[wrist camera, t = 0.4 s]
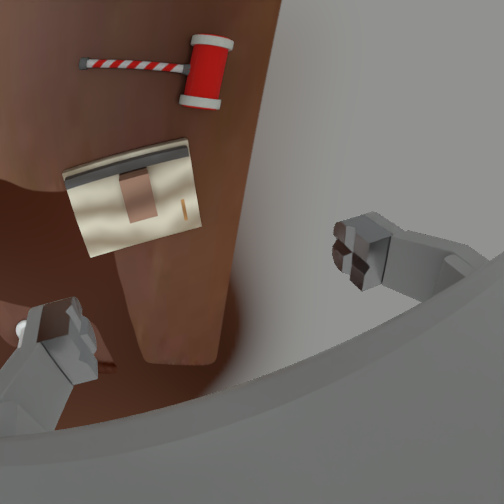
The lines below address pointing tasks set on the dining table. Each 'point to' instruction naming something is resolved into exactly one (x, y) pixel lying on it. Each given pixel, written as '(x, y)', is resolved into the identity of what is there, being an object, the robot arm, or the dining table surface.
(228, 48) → the toy hammer
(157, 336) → the dining table surface
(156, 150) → the board
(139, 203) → the brown cardboard brick
